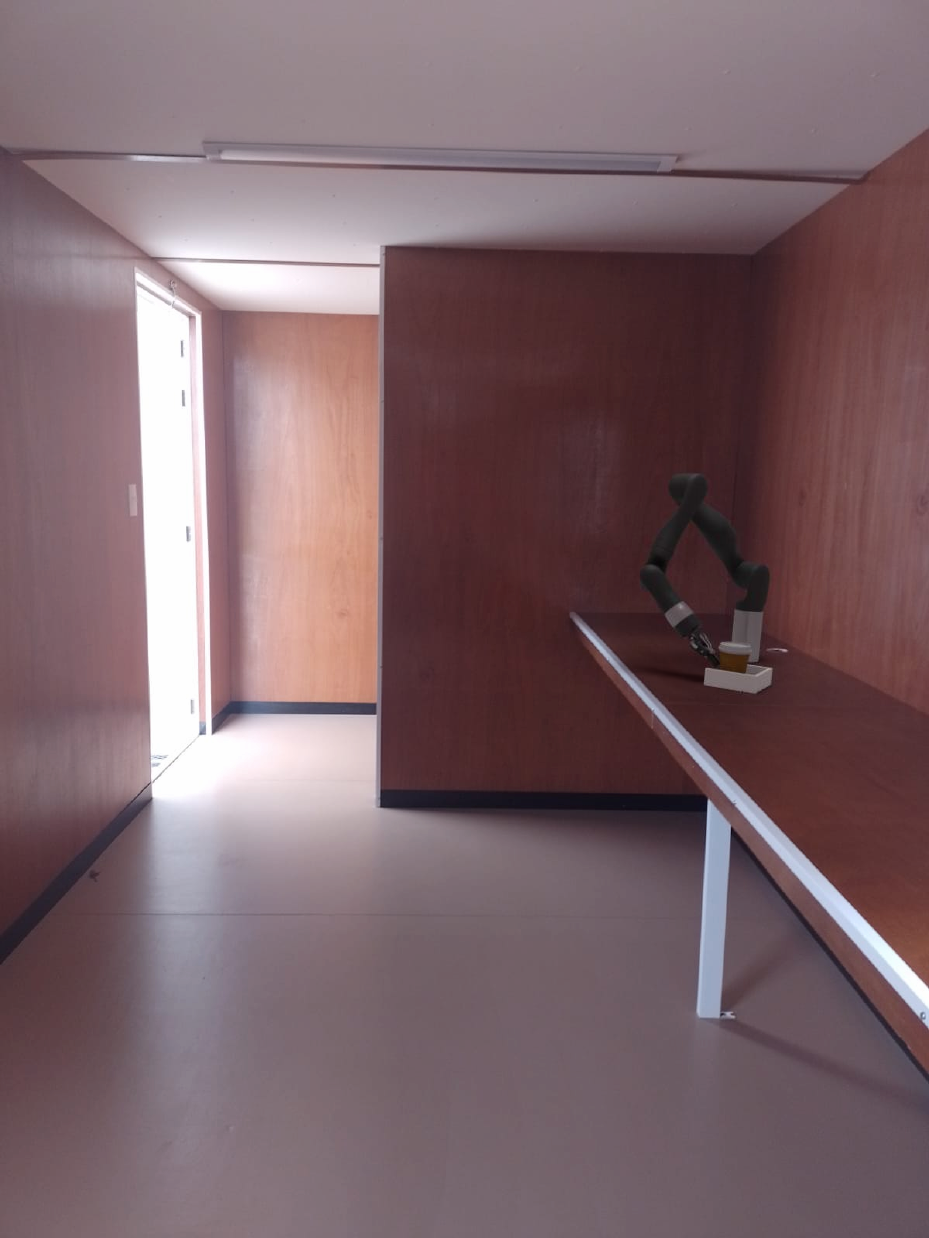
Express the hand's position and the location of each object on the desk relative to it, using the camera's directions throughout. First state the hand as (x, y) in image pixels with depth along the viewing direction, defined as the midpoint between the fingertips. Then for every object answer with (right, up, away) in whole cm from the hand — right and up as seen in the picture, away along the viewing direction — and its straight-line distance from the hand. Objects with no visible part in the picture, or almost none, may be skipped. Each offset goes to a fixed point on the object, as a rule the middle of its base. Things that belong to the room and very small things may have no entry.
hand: (718, 665), depth 267 cm
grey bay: (+5, -6, -2) cm, 8 cm away
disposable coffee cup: (+3, -6, -2) cm, 7 cm away
